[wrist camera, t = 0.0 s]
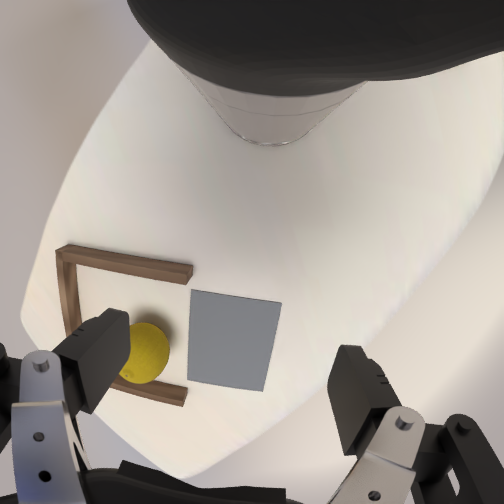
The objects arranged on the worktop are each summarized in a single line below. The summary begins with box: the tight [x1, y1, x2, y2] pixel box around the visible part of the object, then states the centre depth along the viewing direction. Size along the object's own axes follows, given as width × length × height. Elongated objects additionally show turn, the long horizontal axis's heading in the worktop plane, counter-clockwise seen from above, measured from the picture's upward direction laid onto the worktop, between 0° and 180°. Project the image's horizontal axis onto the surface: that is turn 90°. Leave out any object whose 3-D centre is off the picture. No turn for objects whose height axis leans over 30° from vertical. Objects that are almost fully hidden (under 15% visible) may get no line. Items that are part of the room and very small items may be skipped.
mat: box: [187, 289, 282, 392], centre depth 30 cm, size 12×9×1 cm
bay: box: [55, 244, 193, 407], centre depth 29 cm, size 17×15×2 cm
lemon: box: [119, 323, 170, 384], centre depth 26 cm, size 6×6×8 cm
